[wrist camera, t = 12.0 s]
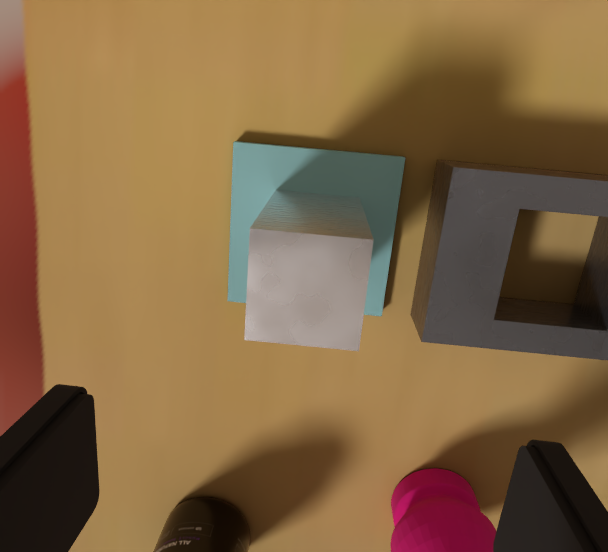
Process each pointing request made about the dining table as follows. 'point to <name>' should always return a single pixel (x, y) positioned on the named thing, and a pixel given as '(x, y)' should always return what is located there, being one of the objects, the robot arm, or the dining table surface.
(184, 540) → the supplement bottle
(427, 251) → the rail
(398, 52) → the dining table surface
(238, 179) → the teal mat
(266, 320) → the steel peg
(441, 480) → the pepper mill
